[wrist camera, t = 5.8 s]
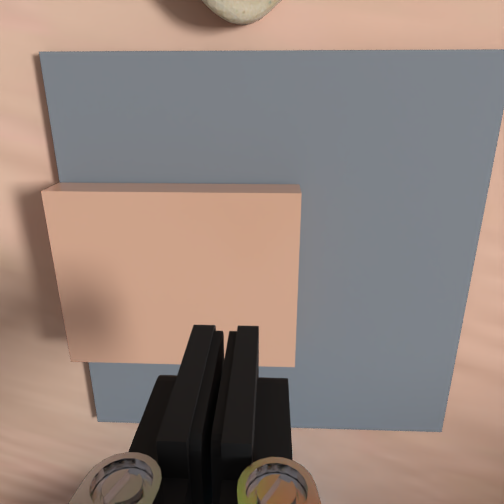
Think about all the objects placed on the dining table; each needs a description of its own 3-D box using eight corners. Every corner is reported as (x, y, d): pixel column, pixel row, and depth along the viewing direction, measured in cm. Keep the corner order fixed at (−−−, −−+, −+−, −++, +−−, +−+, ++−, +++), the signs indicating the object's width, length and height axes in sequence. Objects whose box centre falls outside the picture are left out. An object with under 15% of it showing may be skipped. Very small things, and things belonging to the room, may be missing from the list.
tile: (301, 193, 15) (41, 191, 15) (294, 367, 18) (70, 361, 18) (299, 183, 17) (61, 181, 17) (293, 344, 19) (86, 339, 19)
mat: (508, 50, 15) (515, 49, 15) (438, 425, 21) (441, 432, 20) (44, 52, 16) (38, 51, 15) (100, 415, 21) (97, 421, 21)
